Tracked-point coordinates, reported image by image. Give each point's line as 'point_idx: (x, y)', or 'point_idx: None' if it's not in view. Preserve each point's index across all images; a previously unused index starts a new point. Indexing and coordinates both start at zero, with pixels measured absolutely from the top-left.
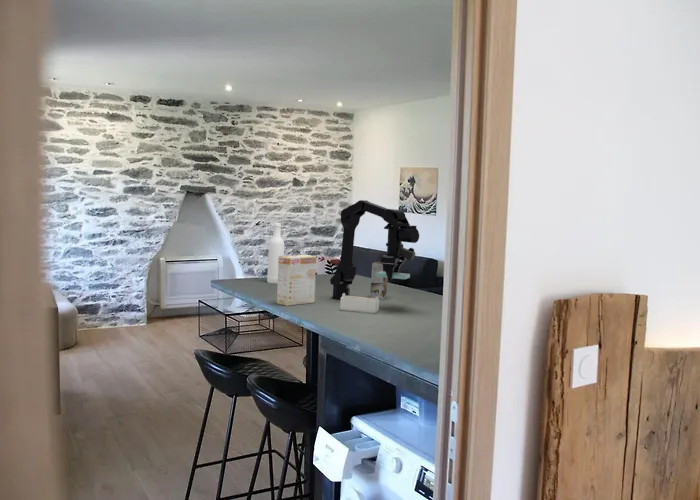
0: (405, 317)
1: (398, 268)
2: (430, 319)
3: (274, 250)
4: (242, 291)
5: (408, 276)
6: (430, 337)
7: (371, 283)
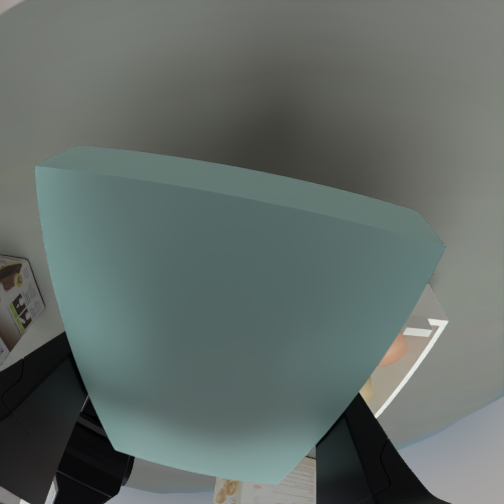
0: (481, 127)
1: (33, 395)
2: (483, 3)
3: (47, 500)
4: (186, 489)
5: (168, 166)
6: None
7: (10, 348)
